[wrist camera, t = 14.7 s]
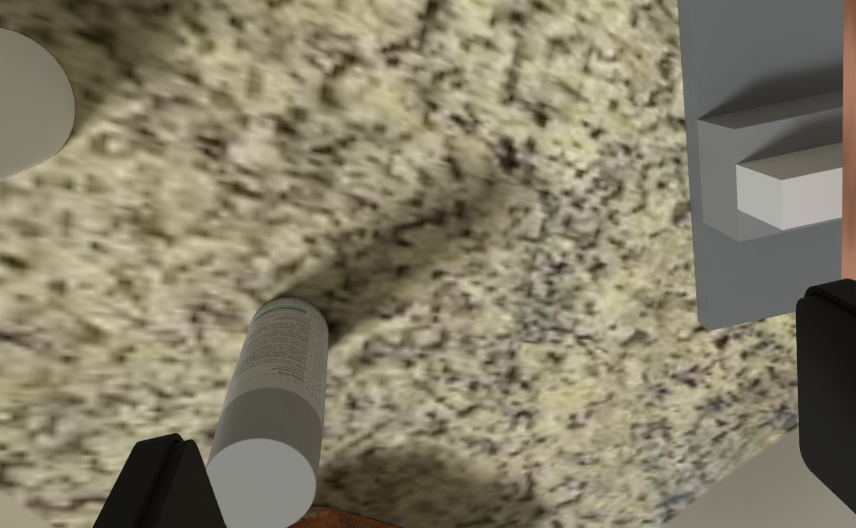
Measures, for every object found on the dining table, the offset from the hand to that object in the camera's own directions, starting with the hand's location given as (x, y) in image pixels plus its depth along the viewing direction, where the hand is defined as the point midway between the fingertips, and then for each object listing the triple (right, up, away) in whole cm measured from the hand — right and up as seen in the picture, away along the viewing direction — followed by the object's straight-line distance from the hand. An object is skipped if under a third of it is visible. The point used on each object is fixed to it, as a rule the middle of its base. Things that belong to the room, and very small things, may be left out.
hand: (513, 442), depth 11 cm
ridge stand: (+19, +9, +31) cm, 38 cm away
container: (-10, -1, +32) cm, 33 cm away
